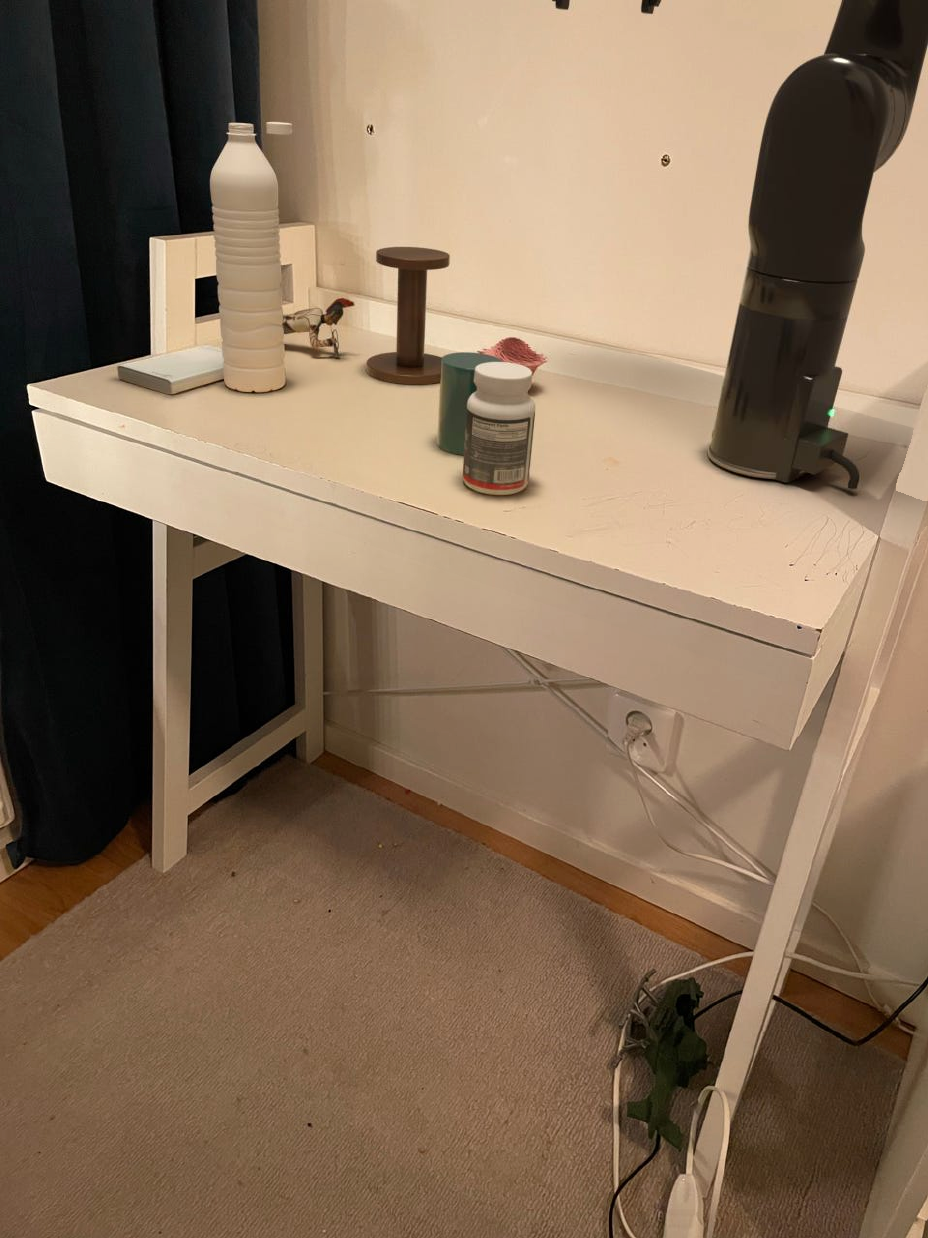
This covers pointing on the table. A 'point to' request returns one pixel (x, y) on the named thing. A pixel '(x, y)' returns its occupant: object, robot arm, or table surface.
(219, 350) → the hard drive
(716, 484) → the table surface
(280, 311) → the water bottle
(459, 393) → the cylinder
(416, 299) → the pedestal stand
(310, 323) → the figurine
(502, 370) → the pill bottle
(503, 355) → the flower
